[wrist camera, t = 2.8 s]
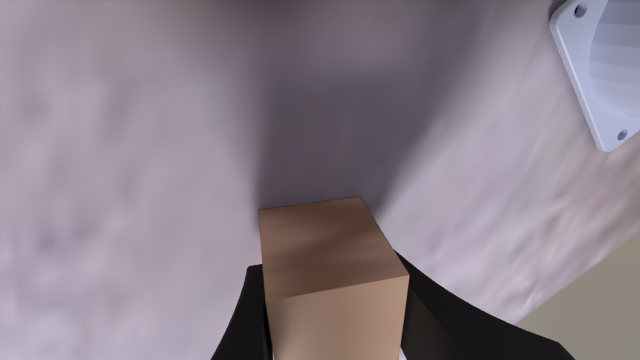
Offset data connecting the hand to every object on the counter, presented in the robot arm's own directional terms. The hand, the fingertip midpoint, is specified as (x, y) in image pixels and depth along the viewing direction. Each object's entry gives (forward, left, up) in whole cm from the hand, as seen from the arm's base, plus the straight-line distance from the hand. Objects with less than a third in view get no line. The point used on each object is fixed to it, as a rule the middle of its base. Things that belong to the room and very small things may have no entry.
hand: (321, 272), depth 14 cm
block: (0, 0, -2) cm, 2 cm away
